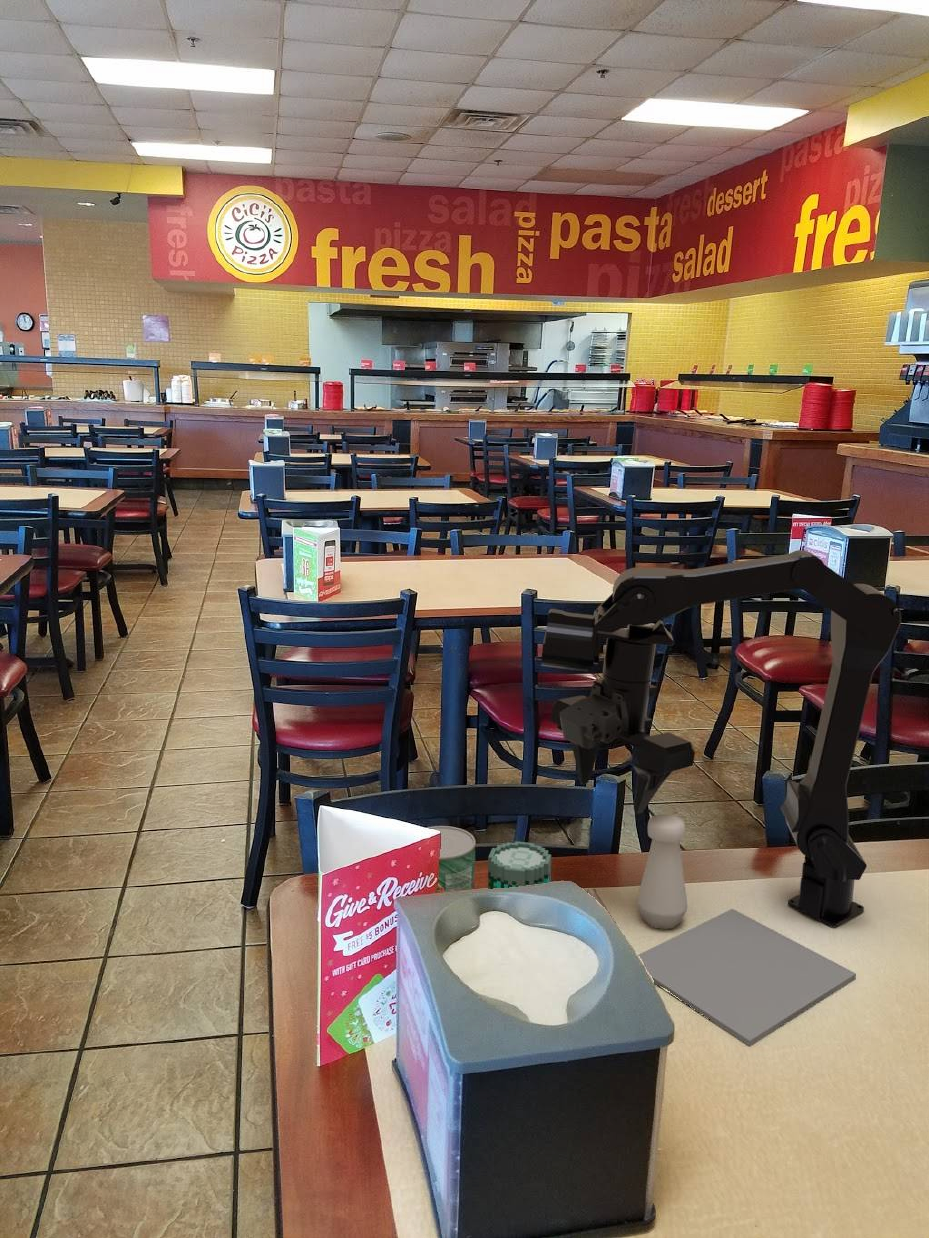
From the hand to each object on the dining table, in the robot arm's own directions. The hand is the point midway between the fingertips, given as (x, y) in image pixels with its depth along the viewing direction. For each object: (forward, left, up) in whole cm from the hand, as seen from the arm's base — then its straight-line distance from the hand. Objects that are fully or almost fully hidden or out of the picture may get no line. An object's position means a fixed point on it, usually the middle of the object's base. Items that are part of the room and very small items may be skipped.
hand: (610, 797), depth 111 cm
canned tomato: (+21, -6, -13) cm, 26 cm away
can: (+21, +8, -13) cm, 26 cm away
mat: (0, +20, -13) cm, 24 cm away
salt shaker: (-1, +8, -13) cm, 16 cm away
